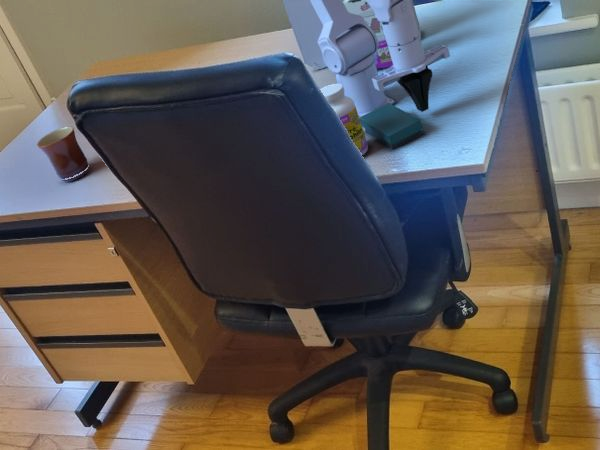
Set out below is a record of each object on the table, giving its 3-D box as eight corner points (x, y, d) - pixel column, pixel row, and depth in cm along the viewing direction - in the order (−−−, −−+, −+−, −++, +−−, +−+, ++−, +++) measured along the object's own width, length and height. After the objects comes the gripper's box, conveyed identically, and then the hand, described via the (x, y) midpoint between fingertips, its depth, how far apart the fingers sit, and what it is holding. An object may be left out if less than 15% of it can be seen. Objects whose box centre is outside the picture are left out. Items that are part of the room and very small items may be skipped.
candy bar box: (415, 53, 169) (395, -20, 161) (413, 62, 165) (392, -12, 157) (367, 64, 173) (344, -6, 165) (363, 74, 169) (340, 2, 161)
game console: (422, 40, 174) (398, -47, 165) (308, 73, 182) (279, -8, 172) (421, 31, 179) (398, -53, 169) (310, 64, 186) (282, -16, 177)
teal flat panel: (363, 131, 145) (358, 117, 143) (393, 116, 146) (388, 102, 144) (393, 151, 134) (388, 136, 133) (425, 134, 135) (421, 119, 134)
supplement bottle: (345, 167, 135) (322, 102, 129) (327, 158, 141) (304, 95, 134) (376, 149, 137) (354, 84, 131) (357, 141, 142) (335, 77, 136)
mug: (101, 167, 176) (79, 127, 171) (69, 188, 172) (46, 148, 167) (77, 161, 185) (56, 123, 180) (46, 181, 181) (24, 143, 176)
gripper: (376, 61, 129) (398, 132, 136) (450, 25, 131) (468, 97, 138) (359, 53, 135) (381, 121, 142) (430, 19, 138) (448, 88, 144)
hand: (423, 109), depth 140 cm, fingers closed
